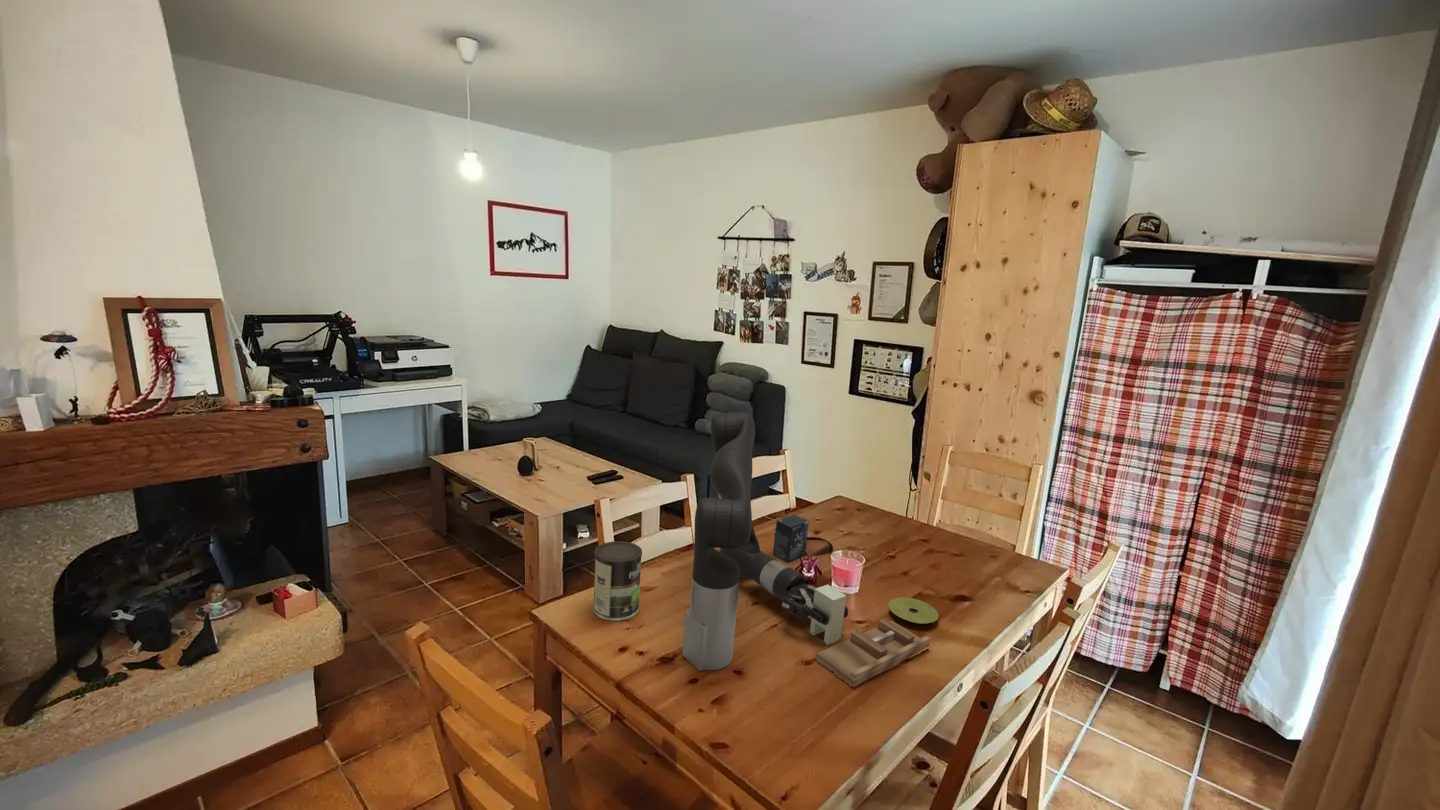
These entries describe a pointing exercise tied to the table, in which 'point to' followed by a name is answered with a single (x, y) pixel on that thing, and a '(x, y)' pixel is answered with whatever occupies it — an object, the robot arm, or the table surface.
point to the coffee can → (617, 580)
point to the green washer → (913, 610)
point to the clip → (829, 613)
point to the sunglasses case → (817, 545)
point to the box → (790, 538)
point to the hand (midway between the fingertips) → (837, 616)
